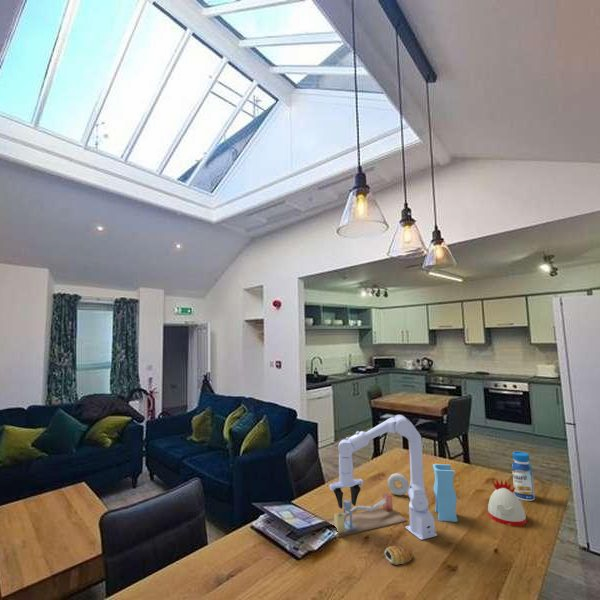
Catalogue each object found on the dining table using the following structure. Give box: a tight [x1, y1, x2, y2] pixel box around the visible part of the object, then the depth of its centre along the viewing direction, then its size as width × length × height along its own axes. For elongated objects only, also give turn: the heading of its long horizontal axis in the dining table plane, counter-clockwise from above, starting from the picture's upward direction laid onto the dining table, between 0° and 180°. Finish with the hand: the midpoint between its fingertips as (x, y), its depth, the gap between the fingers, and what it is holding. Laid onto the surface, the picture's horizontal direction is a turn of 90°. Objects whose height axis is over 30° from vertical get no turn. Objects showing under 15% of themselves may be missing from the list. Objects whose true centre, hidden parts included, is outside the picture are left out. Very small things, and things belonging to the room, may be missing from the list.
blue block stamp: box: [342, 499, 356, 531], centre depth 140 cm, size 4×6×10 cm, turn 20°
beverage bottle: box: [511, 451, 536, 502], centre depth 164 cm, size 8×8×20 cm
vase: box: [432, 463, 458, 523], centre depth 148 cm, size 8×8×20 cm
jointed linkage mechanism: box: [333, 492, 394, 535], centre depth 144 cm, size 5×32×6 cm, turn 123°
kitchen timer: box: [487, 478, 527, 527], centre depth 146 cm, size 14×14×15 cm
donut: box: [387, 472, 410, 496], centre depth 169 cm, size 10×4×10 cm, turn 68°
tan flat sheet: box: [324, 507, 408, 539], centre depth 144 cm, size 13×32×1 cm, turn 110°
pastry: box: [383, 544, 414, 566], centre depth 120 cm, size 9×7×4 cm
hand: (347, 506), depth 140 cm, fingers open, 5 cm apart
